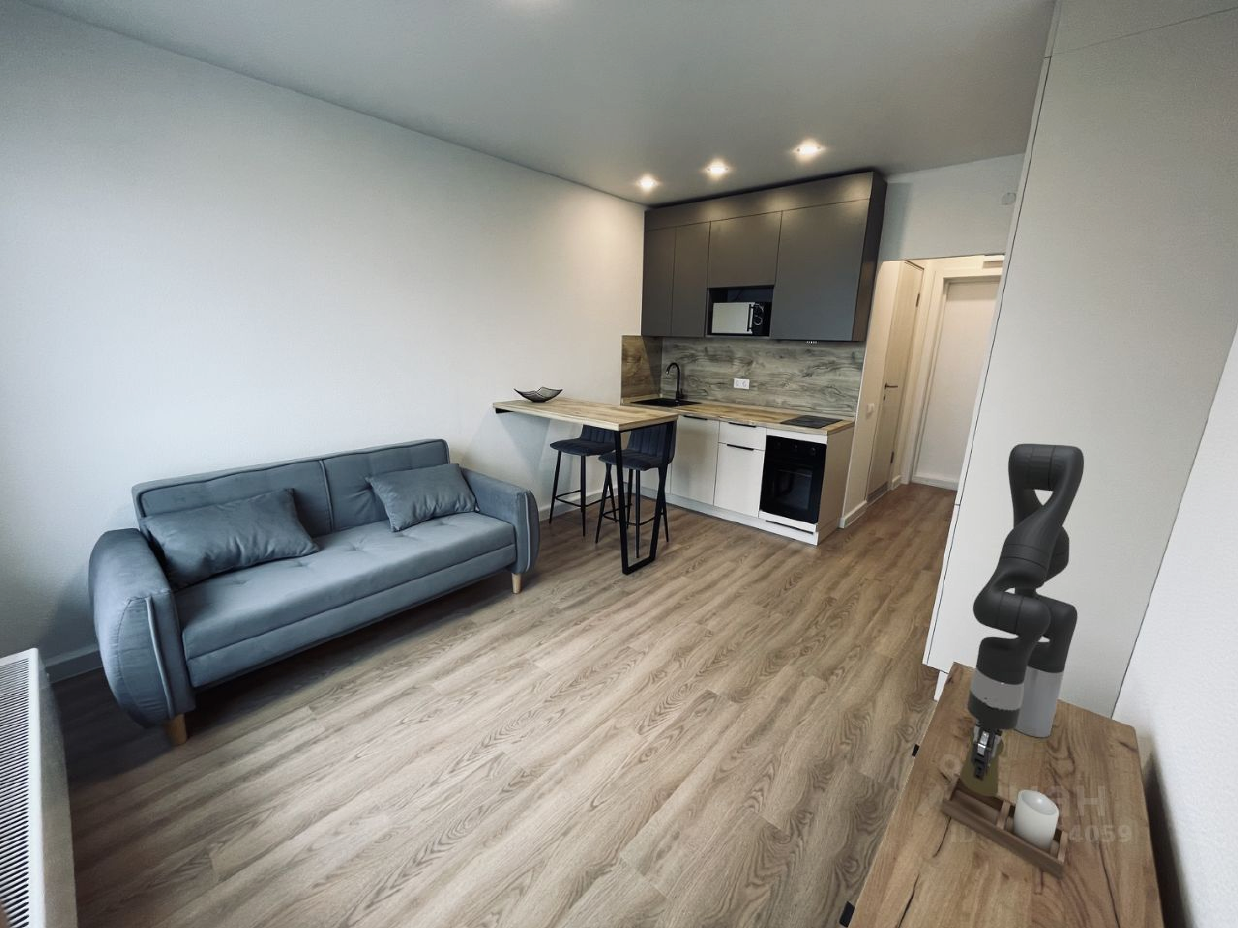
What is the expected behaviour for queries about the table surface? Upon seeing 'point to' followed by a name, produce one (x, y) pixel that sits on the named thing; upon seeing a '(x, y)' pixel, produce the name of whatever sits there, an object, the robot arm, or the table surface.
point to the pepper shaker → (991, 780)
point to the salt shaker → (1035, 819)
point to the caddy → (1000, 824)
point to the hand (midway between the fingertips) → (980, 772)
